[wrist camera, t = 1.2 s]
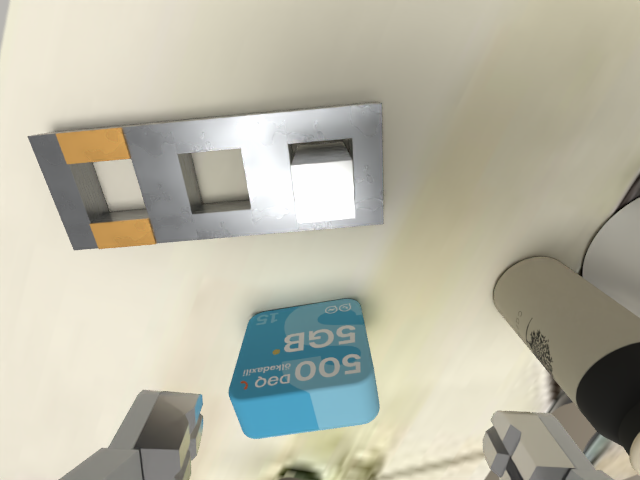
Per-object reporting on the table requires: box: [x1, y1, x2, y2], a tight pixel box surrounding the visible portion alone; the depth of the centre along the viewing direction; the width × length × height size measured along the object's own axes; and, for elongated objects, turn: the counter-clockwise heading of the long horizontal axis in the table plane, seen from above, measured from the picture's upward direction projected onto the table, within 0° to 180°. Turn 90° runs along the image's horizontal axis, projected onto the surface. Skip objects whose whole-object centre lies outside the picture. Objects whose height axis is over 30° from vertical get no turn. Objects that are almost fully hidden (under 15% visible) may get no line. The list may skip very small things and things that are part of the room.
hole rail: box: [28, 102, 384, 250], centre depth 30 cm, size 28×10×3 cm, turn 95°
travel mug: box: [494, 257, 640, 476], centre depth 29 cm, size 8×8×18 cm
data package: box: [229, 299, 379, 439], centre depth 33 cm, size 12×4×12 cm, turn 100°
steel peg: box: [291, 141, 355, 223], centre depth 28 cm, size 4×4×9 cm
